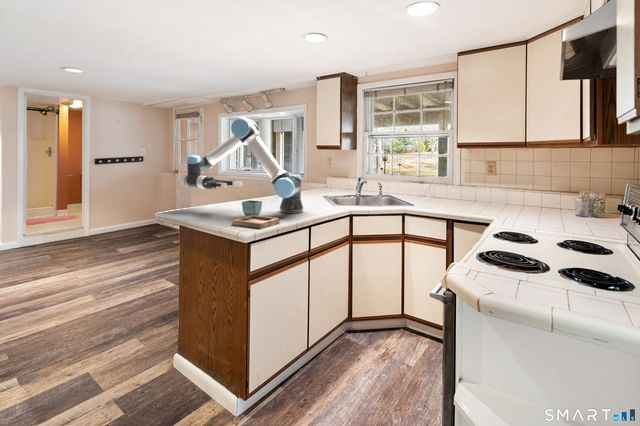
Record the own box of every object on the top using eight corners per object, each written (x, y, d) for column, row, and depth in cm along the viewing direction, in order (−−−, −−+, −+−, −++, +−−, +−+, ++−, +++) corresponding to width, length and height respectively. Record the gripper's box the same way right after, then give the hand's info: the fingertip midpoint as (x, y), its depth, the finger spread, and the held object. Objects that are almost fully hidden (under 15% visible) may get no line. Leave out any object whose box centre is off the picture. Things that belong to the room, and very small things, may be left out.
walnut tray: (253, 219, 192) (253, 215, 192) (279, 223, 185) (279, 218, 184) (232, 224, 177) (232, 220, 177) (260, 228, 170) (260, 223, 169)
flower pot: (262, 216, 203) (262, 201, 202) (255, 219, 195) (255, 202, 194) (248, 215, 206) (248, 200, 204) (241, 217, 197) (241, 202, 196)
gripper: (220, 187, 224) (247, 189, 215) (190, 190, 202) (219, 193, 192) (220, 175, 223) (247, 177, 213) (190, 177, 200) (218, 179, 191)
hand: (234, 184), depth 203 cm, fingers open, 13 cm apart
